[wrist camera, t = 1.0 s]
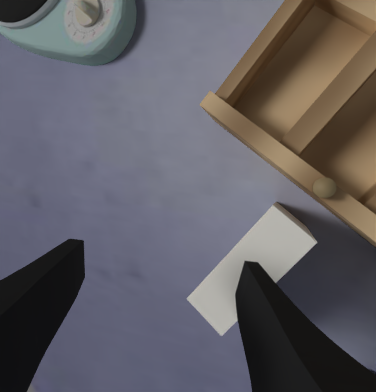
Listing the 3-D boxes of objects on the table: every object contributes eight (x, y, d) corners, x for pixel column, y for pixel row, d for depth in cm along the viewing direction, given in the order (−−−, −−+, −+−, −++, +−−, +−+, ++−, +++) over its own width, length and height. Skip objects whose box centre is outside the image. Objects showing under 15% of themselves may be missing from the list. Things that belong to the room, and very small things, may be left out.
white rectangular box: (306, 226, 20) (317, 242, 14) (239, 293, 22) (221, 336, 16) (276, 201, 21) (272, 205, 14) (214, 268, 23) (186, 298, 16)
